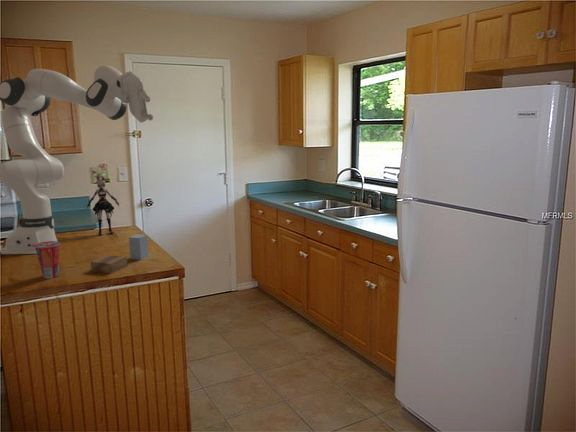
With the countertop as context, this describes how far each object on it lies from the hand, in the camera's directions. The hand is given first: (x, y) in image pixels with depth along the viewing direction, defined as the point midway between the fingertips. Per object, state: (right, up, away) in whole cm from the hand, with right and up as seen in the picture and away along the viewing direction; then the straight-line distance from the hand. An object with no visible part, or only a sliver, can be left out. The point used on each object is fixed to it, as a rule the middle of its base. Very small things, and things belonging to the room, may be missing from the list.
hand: (150, 109), depth 185 cm
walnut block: (-14, -61, -5) cm, 63 cm away
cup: (-32, -63, -13) cm, 72 cm away
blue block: (-7, -58, +8) cm, 59 cm away
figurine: (-36, -50, +48) cm, 78 cm away
